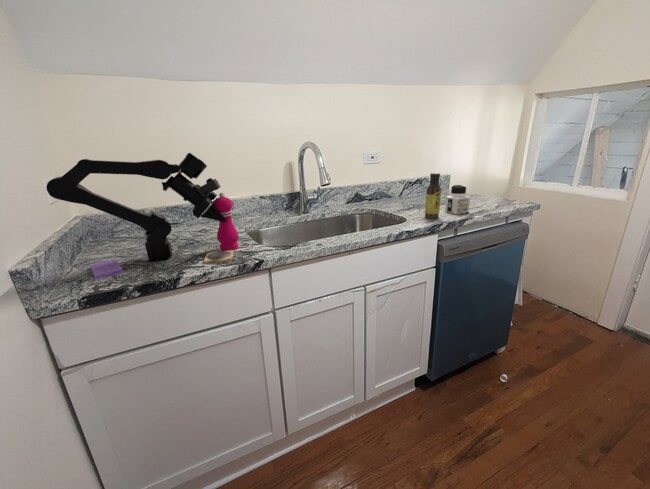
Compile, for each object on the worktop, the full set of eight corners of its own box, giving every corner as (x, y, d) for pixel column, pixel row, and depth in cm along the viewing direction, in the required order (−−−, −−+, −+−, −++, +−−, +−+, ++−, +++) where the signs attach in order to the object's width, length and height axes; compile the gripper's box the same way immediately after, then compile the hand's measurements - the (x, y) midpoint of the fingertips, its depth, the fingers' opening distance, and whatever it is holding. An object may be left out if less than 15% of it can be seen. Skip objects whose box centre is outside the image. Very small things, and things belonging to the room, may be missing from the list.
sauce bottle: (436, 219, 138) (440, 174, 132) (422, 218, 142) (425, 173, 135) (440, 216, 144) (444, 172, 137) (426, 215, 147) (429, 172, 141)
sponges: (96, 281, 88) (94, 275, 88) (90, 269, 97) (89, 263, 97) (124, 273, 93) (122, 268, 92) (116, 263, 102) (115, 258, 101)
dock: (203, 263, 97) (203, 261, 97) (207, 254, 105) (207, 252, 104) (231, 260, 98) (231, 258, 98) (233, 252, 106) (233, 249, 106)
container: (456, 214, 145) (459, 187, 141) (444, 211, 152) (446, 185, 148) (468, 212, 148) (471, 185, 144) (456, 209, 155) (458, 183, 151)
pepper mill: (232, 244, 115) (224, 190, 109) (244, 247, 111) (236, 191, 104) (214, 249, 110) (205, 193, 103) (226, 253, 105) (218, 194, 99)
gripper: (197, 173, 92) (240, 207, 97) (207, 168, 109) (242, 197, 115) (174, 201, 93) (217, 233, 99) (187, 192, 110) (223, 220, 116)
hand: (226, 219), depth 107 cm, fingers closed on pepper mill, 5 cm apart
